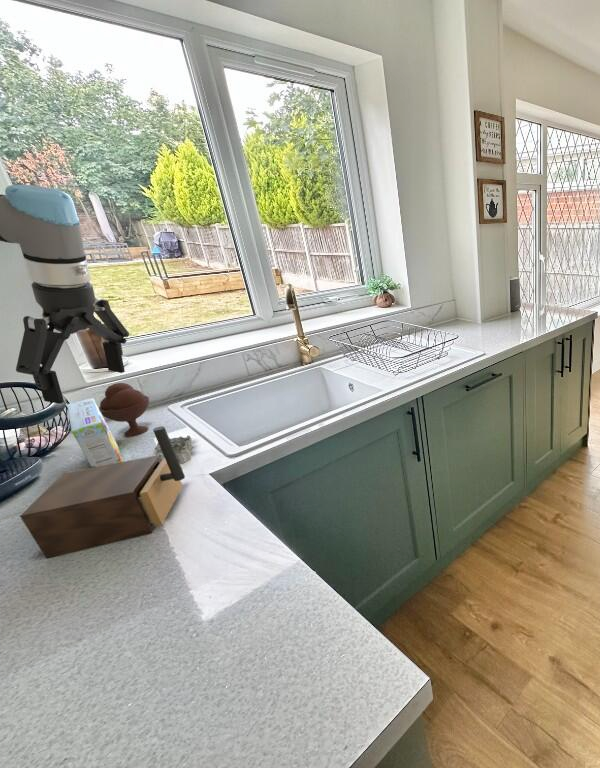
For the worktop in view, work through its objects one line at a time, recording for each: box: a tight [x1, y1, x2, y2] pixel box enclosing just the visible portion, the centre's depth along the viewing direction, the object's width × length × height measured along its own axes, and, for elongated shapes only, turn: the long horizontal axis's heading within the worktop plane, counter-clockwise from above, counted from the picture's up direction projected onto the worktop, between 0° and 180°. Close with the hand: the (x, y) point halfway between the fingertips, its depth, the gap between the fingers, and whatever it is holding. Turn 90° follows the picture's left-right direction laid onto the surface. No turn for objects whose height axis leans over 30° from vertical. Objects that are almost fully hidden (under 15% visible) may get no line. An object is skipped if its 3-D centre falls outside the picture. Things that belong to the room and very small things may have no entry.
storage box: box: [19, 455, 161, 559], centre depth 83 cm, size 16×14×10 cm
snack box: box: [67, 397, 124, 468], centre depth 102 cm, size 21×6×15 cm, turn 47°
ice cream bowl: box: [98, 382, 150, 438], centre depth 118 cm, size 11×11×15 cm
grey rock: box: [151, 435, 194, 464], centre depth 107 cm, size 11×8×4 cm
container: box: [136, 425, 186, 527], centre depth 82 cm, size 20×14×18 cm
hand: (87, 385), depth 83 cm, fingers open, 13 cm apart
